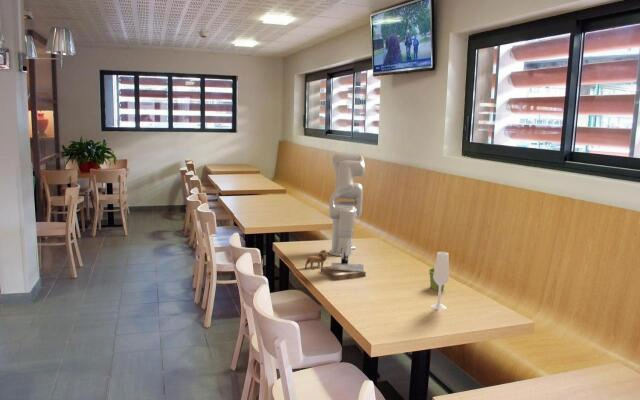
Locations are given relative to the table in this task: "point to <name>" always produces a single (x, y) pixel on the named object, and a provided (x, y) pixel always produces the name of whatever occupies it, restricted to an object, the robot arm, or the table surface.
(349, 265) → the folding leg
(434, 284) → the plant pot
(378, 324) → the table surface
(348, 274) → the stool seat
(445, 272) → the champagne flute
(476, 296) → the table surface
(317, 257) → the lion figurine
